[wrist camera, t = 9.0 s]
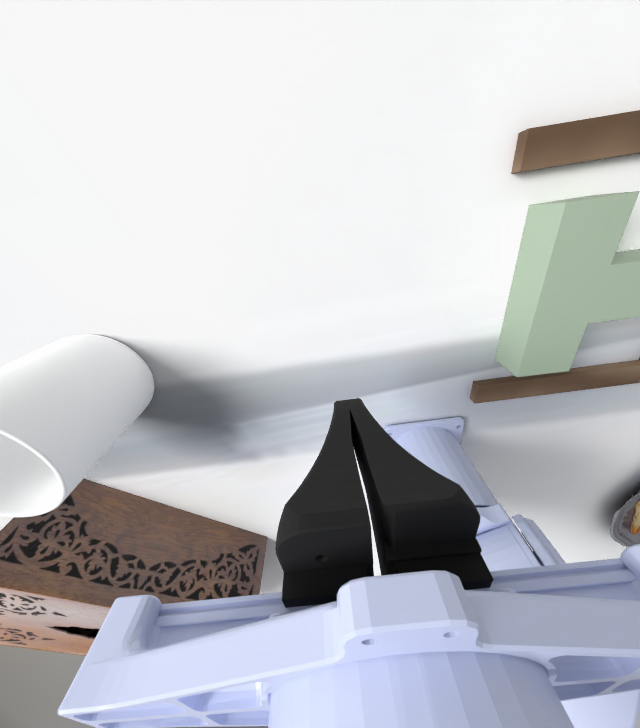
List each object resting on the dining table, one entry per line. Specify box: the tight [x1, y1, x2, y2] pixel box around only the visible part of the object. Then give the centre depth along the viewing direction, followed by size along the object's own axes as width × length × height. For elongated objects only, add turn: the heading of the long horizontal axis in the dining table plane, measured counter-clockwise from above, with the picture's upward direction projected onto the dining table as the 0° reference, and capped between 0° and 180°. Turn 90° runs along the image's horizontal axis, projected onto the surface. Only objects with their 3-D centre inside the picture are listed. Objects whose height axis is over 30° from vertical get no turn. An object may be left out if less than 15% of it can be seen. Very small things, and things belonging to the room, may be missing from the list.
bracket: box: [470, 110, 640, 403], centre depth 20 cm, size 20×17×1 cm
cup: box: [0, 334, 154, 517], centre depth 18 cm, size 8×12×10 cm
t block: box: [495, 191, 640, 377], centre depth 19 cm, size 12×11×3 cm
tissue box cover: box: [0, 479, 267, 656], centre depth 31 cm, size 26×14×10 cm, turn 56°
